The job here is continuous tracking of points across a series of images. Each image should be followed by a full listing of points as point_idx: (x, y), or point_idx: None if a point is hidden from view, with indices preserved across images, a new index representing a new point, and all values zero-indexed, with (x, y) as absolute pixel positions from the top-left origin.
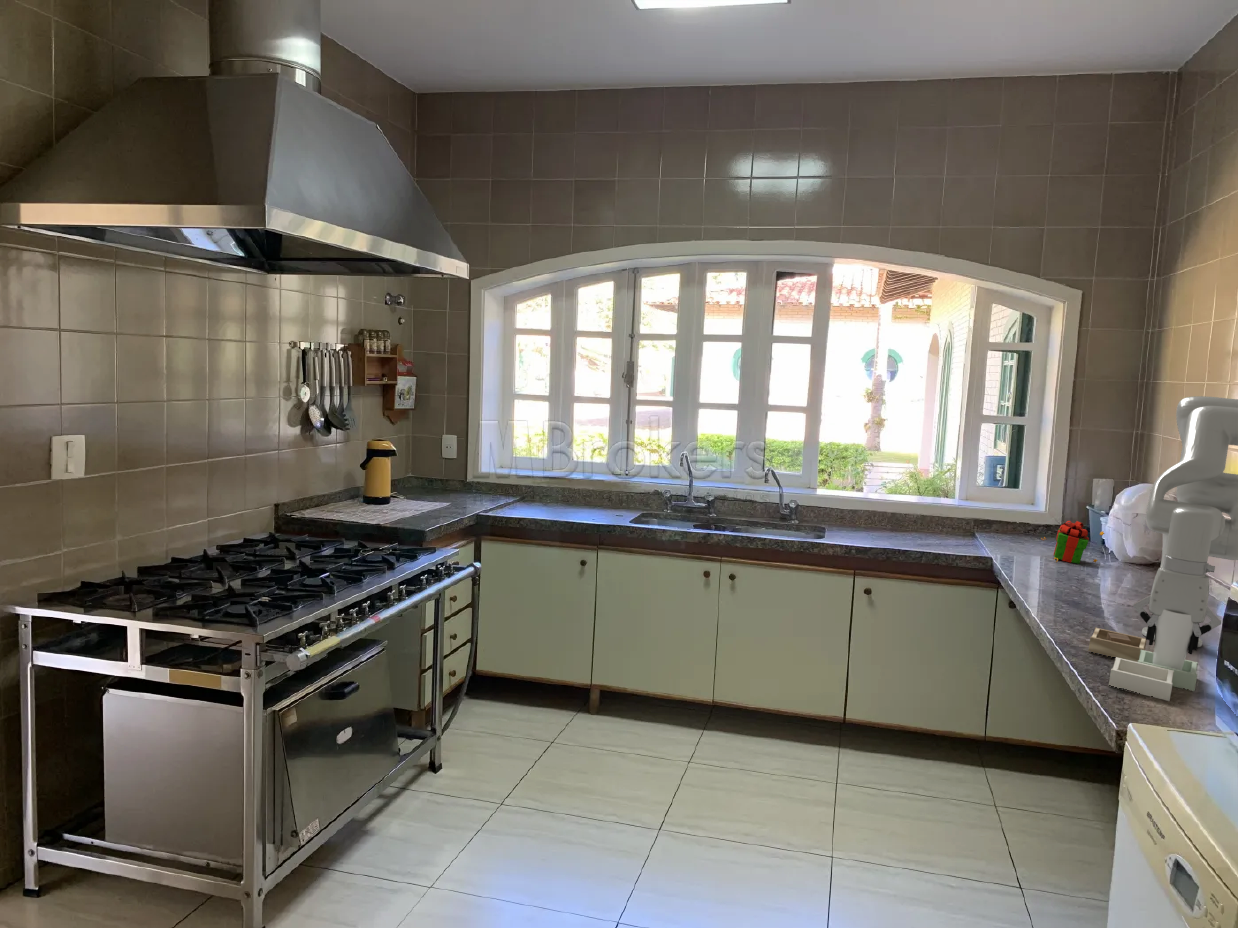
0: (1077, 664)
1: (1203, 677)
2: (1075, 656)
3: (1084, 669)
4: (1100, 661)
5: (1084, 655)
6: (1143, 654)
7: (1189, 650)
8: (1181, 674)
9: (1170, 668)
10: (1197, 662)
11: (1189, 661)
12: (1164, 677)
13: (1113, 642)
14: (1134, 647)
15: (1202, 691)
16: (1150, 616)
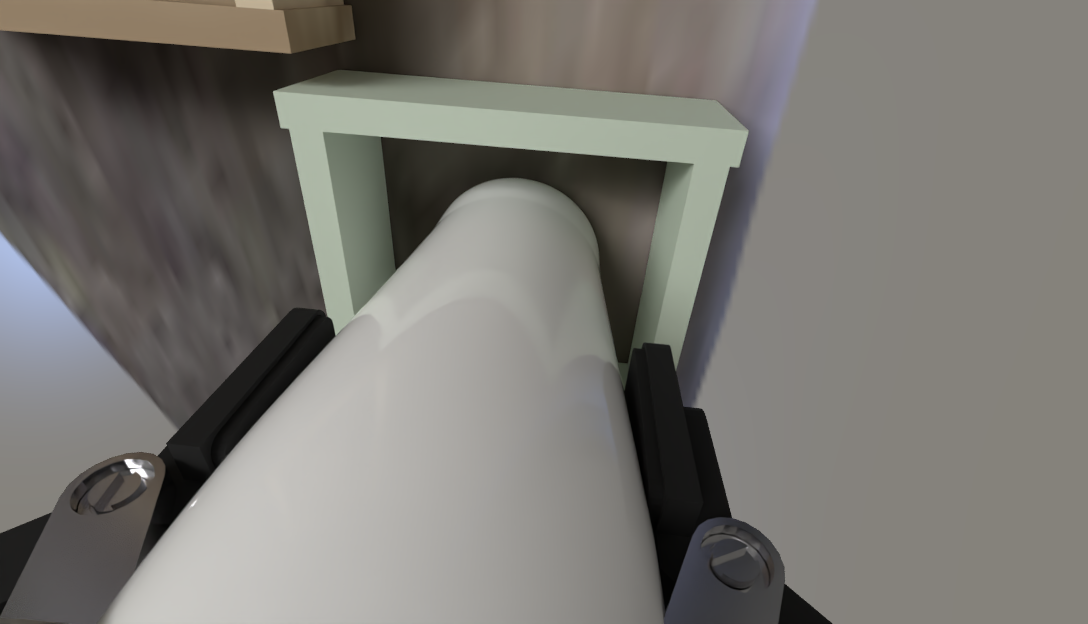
0: (126, 347)
1: (796, 16)
2: (31, 210)
3: (184, 396)
4: (159, 201)
5: (38, 139)
6: (332, 243)
7: None
8: None
9: None
10: (744, 135)
11: (672, 157)
12: None
13: (27, 29)
14: (211, 45)
15: (695, 356)
16: (38, 560)
